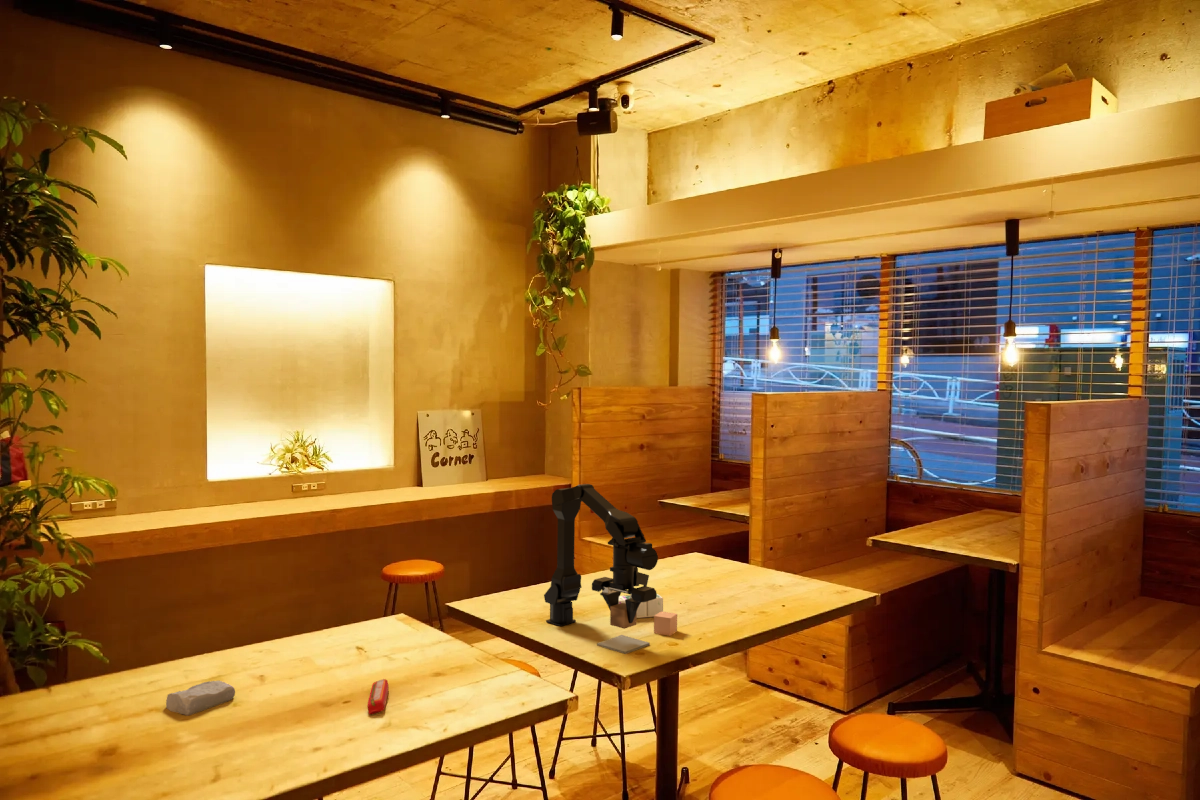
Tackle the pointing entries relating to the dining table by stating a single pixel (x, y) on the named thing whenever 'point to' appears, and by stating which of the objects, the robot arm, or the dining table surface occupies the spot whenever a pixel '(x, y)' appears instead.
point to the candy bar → (378, 696)
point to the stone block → (200, 697)
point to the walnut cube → (620, 616)
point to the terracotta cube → (665, 623)
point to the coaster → (623, 644)
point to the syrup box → (646, 606)
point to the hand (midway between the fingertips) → (623, 620)
